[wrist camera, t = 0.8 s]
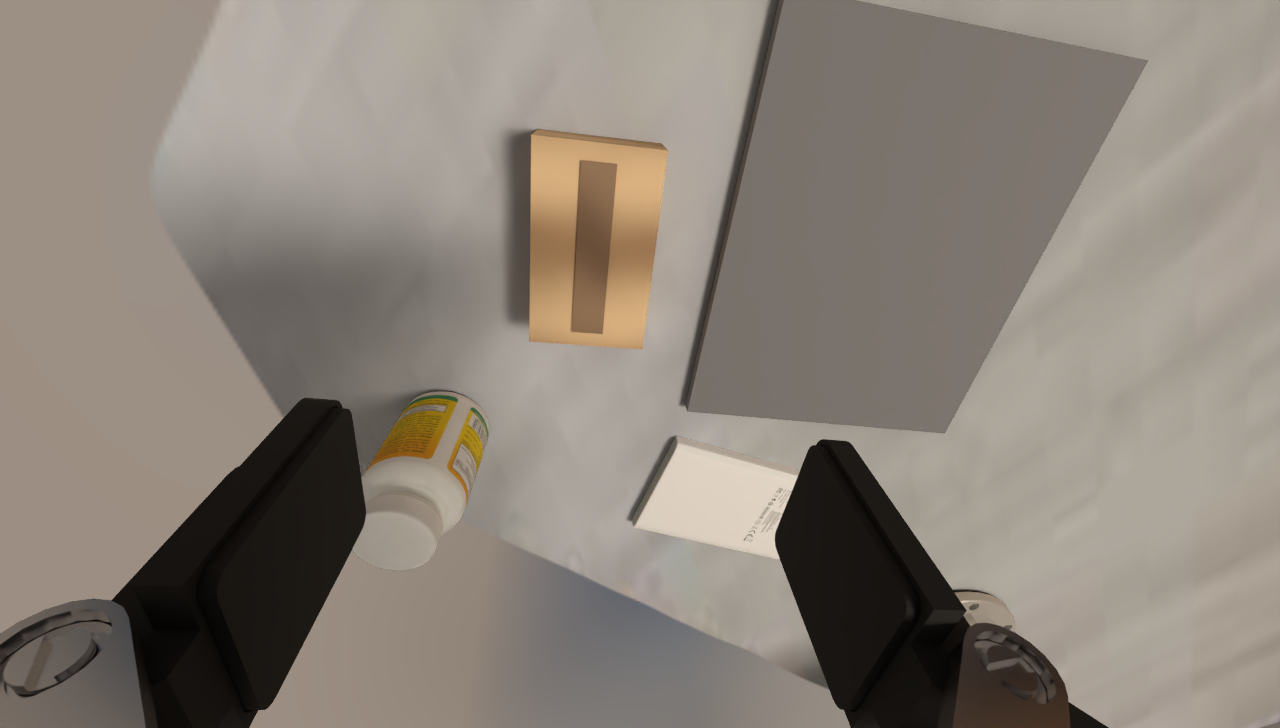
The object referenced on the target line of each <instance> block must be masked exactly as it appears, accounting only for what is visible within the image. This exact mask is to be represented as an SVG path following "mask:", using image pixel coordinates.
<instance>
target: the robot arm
mask: <svg viewBox="0 0 1280 728" xmlns="http://www.w3.org/2000/svg"><path fill="white" fill-rule="evenodd" d="M365 519H366V506H365V499H364V493H363V486H362V479H361V473H360V466H359V460H358V453H357V447H356V440H355V433H354V427H353V420H352V415H351V412H350V410H349V409H343V408H342V405H341V403H340V402H339V401H337V400H326V399H314V398H304V399H302V400H300V401H299V402H298V403H297V404H296V405H295V406H294V407H293V409H292V410H291V411H290V412H289V413H288V414H287V415H286V416H285V417H284V418H283V419H282V421H281V422H280V423H279V424H278V425H277V426H276V427H275V428H274V429H273V431H271V433H270V434H269V435H268V436H267V437H266V438H265V439H264V440H263V441H262V442H261V444H260V445H259V446H258V447H257V448H256V449H255V450H254V451H253V452H252V453H251V454H250V456H249V457H248V458H247V459H246V460H245V461H244V462H243V463H242V464H241V465H240V466H239V467H237V468H235V469H234V470H233V471H232V472H230V473H229V474H228V475H227V476H226V477H225V478H224V479H223V480H222V482H221V483H220V484H219V485H218V486H217V487H216V488H215V489H214V490H213V491H212V492H211V494H210V495H209V496H208V497H207V498H206V499H205V500H204V501H203V502H202V503H201V504H200V505H199V506H198V508H197V509H196V510H195V511H194V512H193V513H192V514H191V515H190V516H189V517H188V518H187V519H186V521H185V522H184V523H183V524H182V525H181V526H180V527H179V528H178V529H177V530H176V531H175V532H174V533H173V535H172V536H171V537H170V538H169V539H168V540H167V541H166V542H165V543H164V544H163V545H162V546H161V548H160V549H159V550H158V551H157V552H156V553H155V554H154V555H153V556H152V557H151V558H150V559H149V560H148V562H147V563H146V564H145V565H144V566H143V567H142V568H141V569H140V570H139V571H138V572H137V574H136V575H135V576H134V577H133V578H132V579H131V580H130V581H129V582H128V583H127V584H126V585H125V587H124V588H123V589H122V590H121V591H120V592H119V593H118V594H117V595H116V596H115V597H114V598H113V600H101V599H87V600H80V601H72V602H68V603H65V604H62V605H59V606H55V607H52V608H49V609H46V610H44V611H41V612H39V613H37V614H35V615H32V616H30V617H28V618H26V619H24V620H22V621H19V622H18V623H16V624H15V625H13V626H12V627H10V628H8V629H7V630H5V631H4V632H2V633H1V634H0V728H249V727H250V725H251V723H252V721H253V719H254V717H255V715H256V713H257V711H258V710H265V709H267V708H268V707H269V706H270V705H271V704H272V702H273V701H274V699H275V697H276V695H277V694H278V692H279V690H280V688H281V686H282V684H283V682H284V680H285V678H286V676H287V674H288V672H289V670H290V668H291V666H292V664H293V663H294V661H295V659H296V657H297V655H298V653H299V651H300V649H301V647H302V645H303V643H304V641H305V639H306V637H307V636H308V634H309V632H310V630H311V628H312V626H313V624H314V622H315V620H316V618H317V616H318V614H319V612H320V610H321V608H322V606H323V605H324V603H325V601H326V599H327V597H328V595H329V593H330V591H331V589H332V587H333V585H334V583H335V581H336V579H337V577H338V576H339V574H340V572H341V570H342V568H343V566H344V564H345V562H346V560H347V558H348V556H349V554H350V552H351V550H352V549H353V547H354V545H355V543H356V541H357V539H358V537H359V535H360V533H361V531H362V529H363V527H364V523H365ZM775 546H776V550H777V553H778V555H779V558H780V560H781V563H782V566H783V568H784V571H785V574H786V576H787V579H788V582H789V584H790V587H791V589H792V592H793V595H794V597H795V600H796V603H797V605H798V608H799V611H800V613H801V616H802V618H803V621H804V624H805V626H806V629H807V632H808V634H809V637H810V639H811V642H812V645H813V647H814V650H815V653H816V655H817V658H818V661H819V663H820V666H821V668H822V671H823V674H824V676H825V679H826V682H827V684H828V687H829V690H830V692H831V695H832V697H833V700H834V702H835V704H836V705H837V706H838V708H840V709H843V710H844V711H845V714H846V716H847V719H848V721H849V724H850V726H851V728H1108V727H1107V726H1105V725H1103V724H1102V723H1100V722H1099V721H1097V720H1096V719H1094V718H1093V717H1091V716H1089V715H1088V714H1086V713H1085V712H1083V711H1082V710H1080V709H1079V708H1077V707H1075V706H1074V705H1072V704H1071V703H1069V702H1068V695H1067V691H1066V687H1065V683H1064V682H1063V680H1062V678H1061V677H1060V675H1059V673H1058V671H1057V670H1056V668H1055V667H1054V666H1053V665H1052V664H1051V662H1050V661H1049V660H1048V659H1047V658H1046V656H1045V655H1044V654H1043V653H1041V652H1040V651H1039V650H1038V649H1037V648H1036V647H1035V646H1033V645H1032V644H1031V643H1030V642H1029V641H1027V640H1026V639H1024V638H1022V637H1021V636H1019V635H1018V634H1016V633H1015V632H1014V631H1015V620H1014V617H1013V615H1012V613H1011V612H1010V611H1009V609H1008V608H1007V607H1006V605H1005V604H1004V603H1003V602H1002V601H1000V600H999V599H997V598H995V597H993V596H991V595H988V594H984V593H979V592H954V591H953V590H952V588H951V587H950V586H949V584H948V583H947V581H946V580H945V578H944V577H943V575H942V574H941V573H940V571H939V570H938V568H937V567H936V565H935V564H934V562H933V561H932V560H931V558H930V557H929V555H928V554H927V552H926V551H925V549H924V548H923V547H922V545H921V544H920V542H919V541H918V539H917V538H916V536H915V535H914V534H913V532H912V531H911V529H910V528H909V526H908V525H907V523H906V522H905V521H904V519H903V518H902V516H901V515H900V513H899V512H898V511H897V509H896V508H895V506H894V505H893V503H892V502H891V500H890V499H889V498H888V496H887V495H886V493H885V492H884V490H883V489H882V487H881V486H880V485H879V483H878V482H877V480H876V479H875V477H874V476H873V474H872V473H871V472H870V470H869V469H868V467H867V466H866V464H865V463H864V461H863V460H862V459H861V457H860V456H859V454H858V453H857V451H856V450H855V448H854V447H853V446H852V445H851V443H850V442H847V441H837V440H825V439H823V440H820V441H819V442H818V443H817V445H813V446H811V447H810V448H809V450H808V452H807V455H806V457H805V460H804V462H803V465H802V467H801V470H800V472H799V475H798V477H797V480H796V482H795V485H794V487H793V490H792V492H791V495H790V497H789V500H788V502H787V505H786V507H785V510H784V512H783V515H782V517H781V520H780V522H779V525H778V527H777V529H776V533H775Z"/></svg>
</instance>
